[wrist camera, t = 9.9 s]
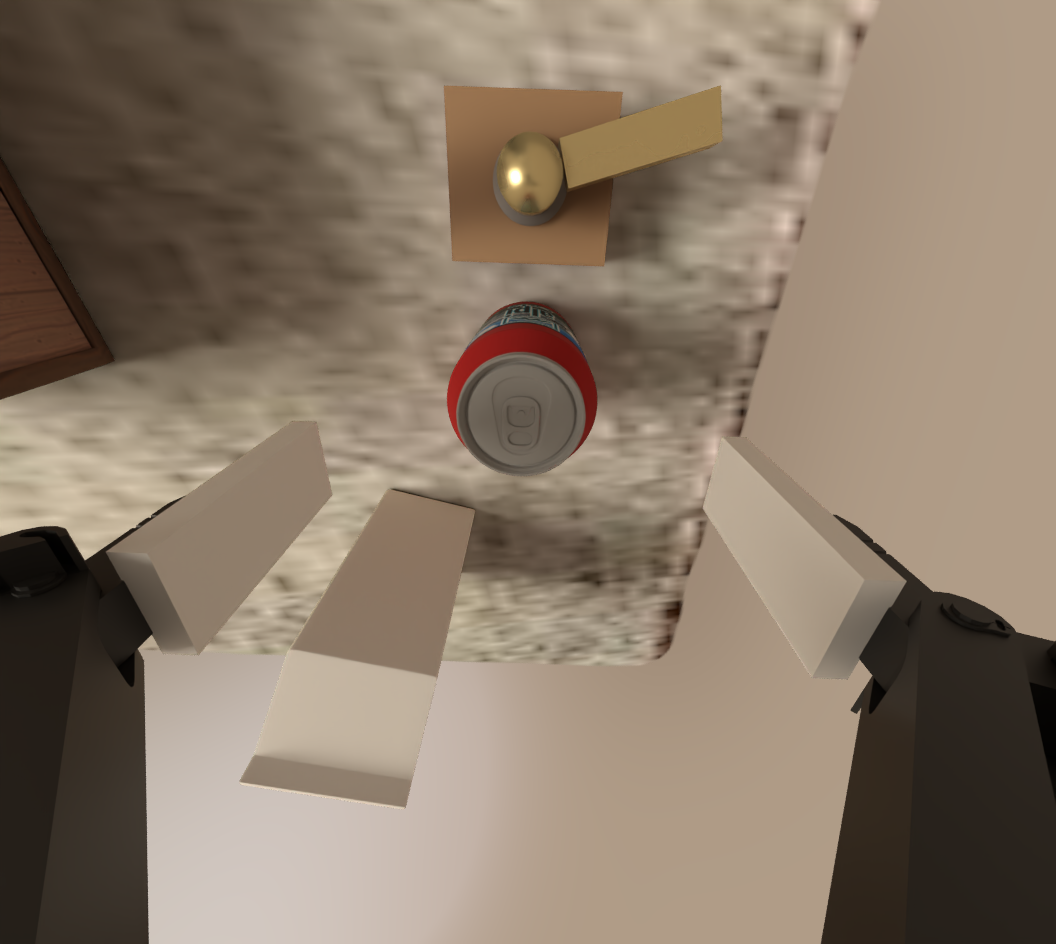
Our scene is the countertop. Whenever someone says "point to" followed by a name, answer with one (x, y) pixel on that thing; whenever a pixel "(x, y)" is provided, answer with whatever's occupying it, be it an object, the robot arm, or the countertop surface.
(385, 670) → the milk carton
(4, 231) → the tissue box
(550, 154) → the lever
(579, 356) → the beverage can
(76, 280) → the countertop surface
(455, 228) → the pedestal
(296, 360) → the countertop surface
